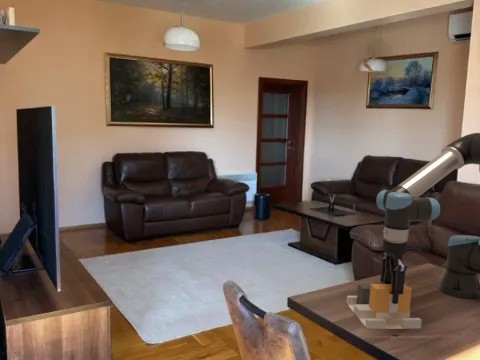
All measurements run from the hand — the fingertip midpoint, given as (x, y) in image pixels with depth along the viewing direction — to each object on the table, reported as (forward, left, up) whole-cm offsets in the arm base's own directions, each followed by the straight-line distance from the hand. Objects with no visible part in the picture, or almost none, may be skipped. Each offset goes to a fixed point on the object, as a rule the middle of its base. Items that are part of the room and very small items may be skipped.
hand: (389, 308), depth 145 cm
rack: (0, -5, -6) cm, 8 cm away
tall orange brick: (0, 0, 0) cm, 0 cm away
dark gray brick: (0, -11, -5) cm, 12 cm away
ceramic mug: (-19, -35, -6) cm, 40 cm away
